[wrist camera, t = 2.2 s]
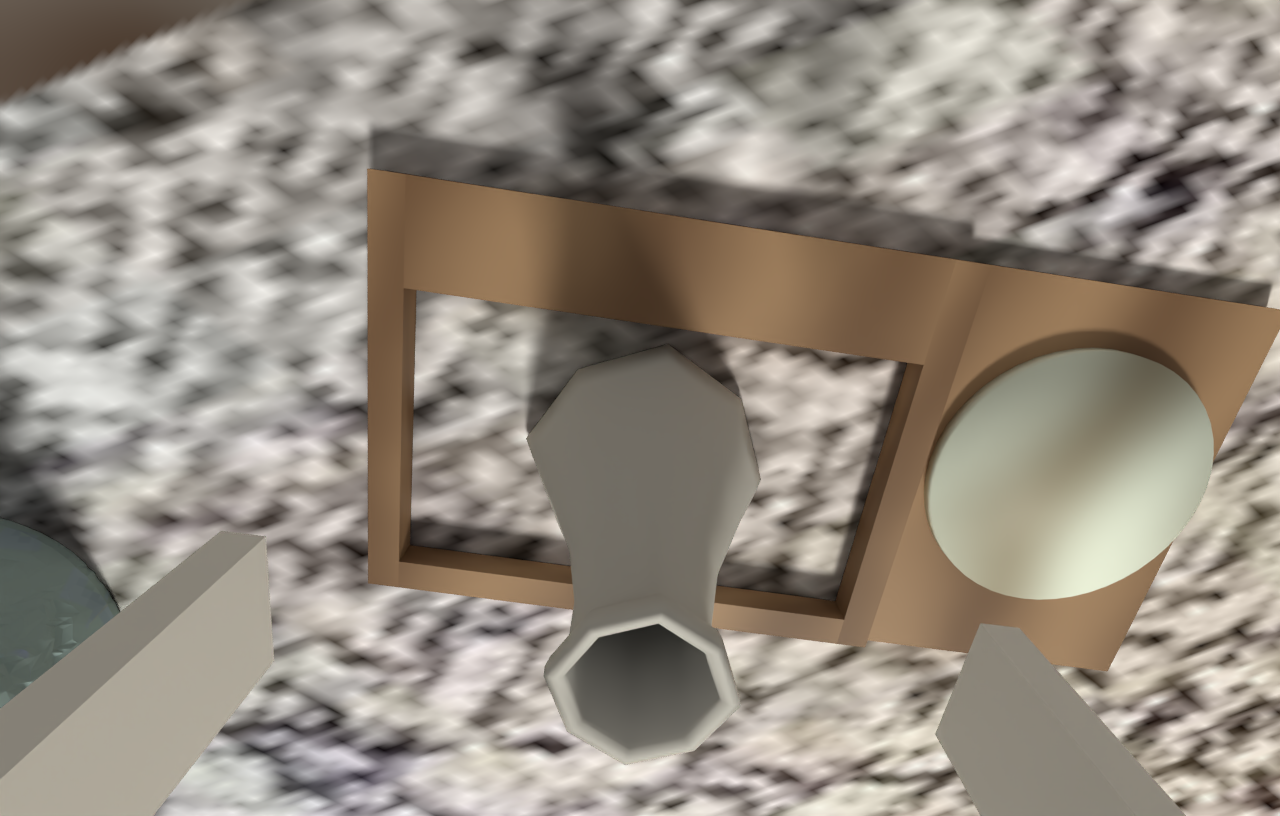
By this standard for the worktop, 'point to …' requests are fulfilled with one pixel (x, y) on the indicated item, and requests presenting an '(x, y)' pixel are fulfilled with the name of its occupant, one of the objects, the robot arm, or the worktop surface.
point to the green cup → (43, 605)
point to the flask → (644, 548)
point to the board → (918, 429)
